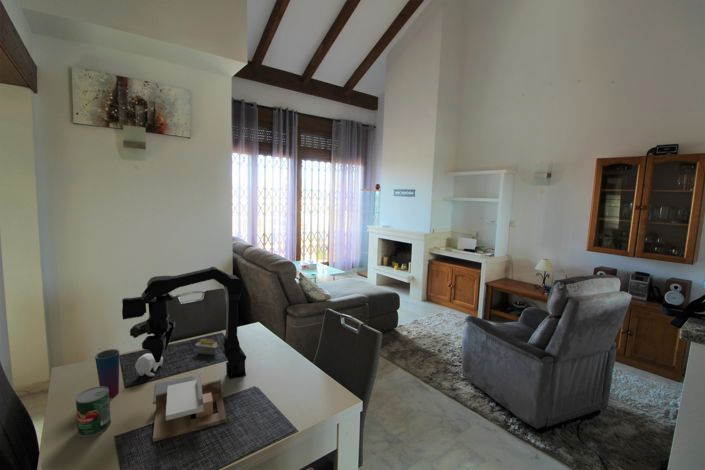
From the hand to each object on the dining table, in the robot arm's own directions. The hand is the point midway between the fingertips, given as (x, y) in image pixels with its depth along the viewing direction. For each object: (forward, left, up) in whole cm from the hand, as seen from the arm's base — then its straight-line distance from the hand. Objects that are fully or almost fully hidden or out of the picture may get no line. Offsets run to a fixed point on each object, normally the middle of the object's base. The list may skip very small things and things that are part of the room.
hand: (161, 355), depth 117 cm
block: (-12, +18, -14) cm, 26 cm away
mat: (-3, 0, -14) cm, 14 cm away
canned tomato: (+18, +12, -14) cm, 25 cm away
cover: (-7, +18, -8) cm, 21 cm away
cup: (+17, -6, -14) cm, 23 cm away
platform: (-17, -24, -15) cm, 33 cm away
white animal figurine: (+5, -17, -14) cm, 23 cm away
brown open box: (-8, +18, -14) cm, 24 cm away
